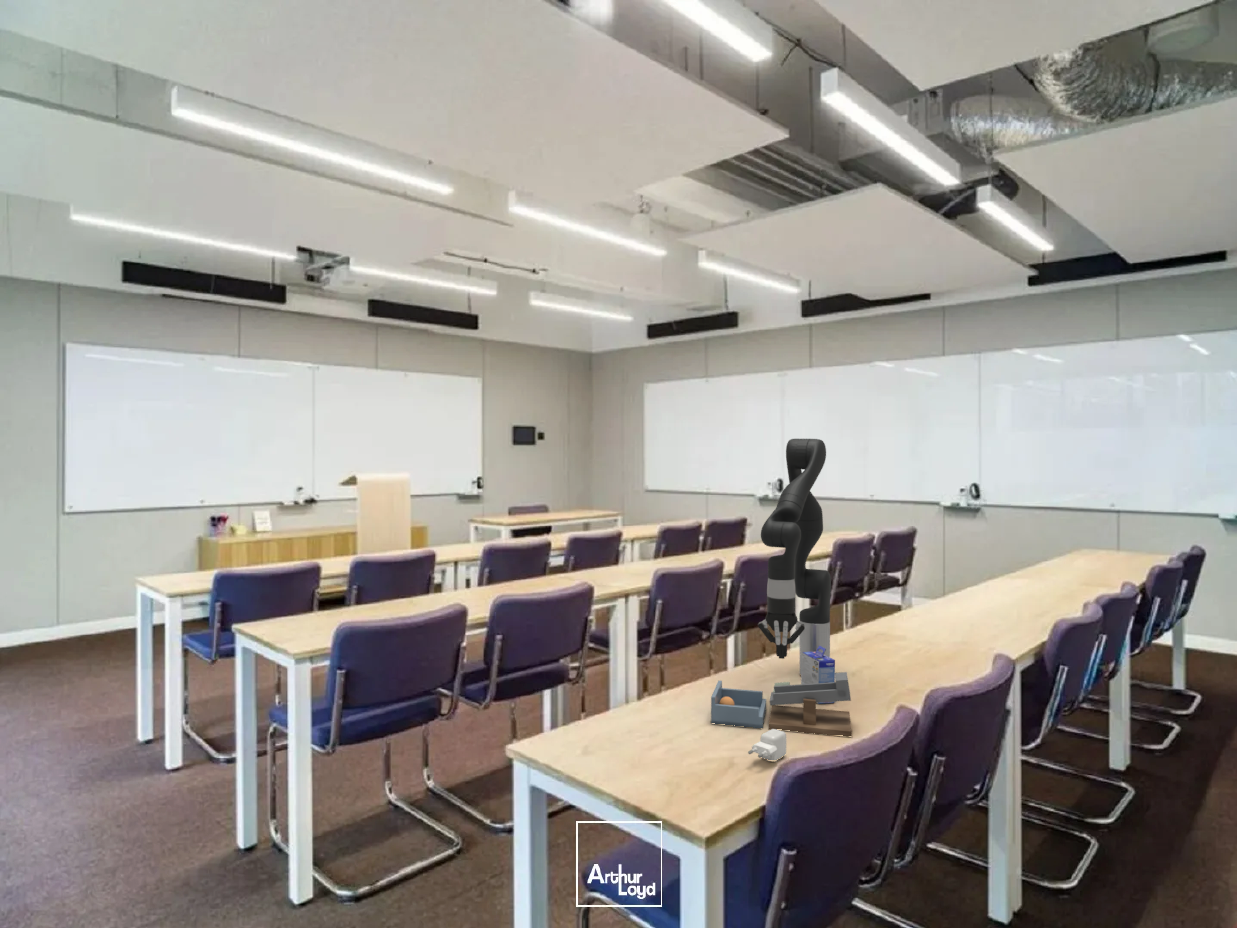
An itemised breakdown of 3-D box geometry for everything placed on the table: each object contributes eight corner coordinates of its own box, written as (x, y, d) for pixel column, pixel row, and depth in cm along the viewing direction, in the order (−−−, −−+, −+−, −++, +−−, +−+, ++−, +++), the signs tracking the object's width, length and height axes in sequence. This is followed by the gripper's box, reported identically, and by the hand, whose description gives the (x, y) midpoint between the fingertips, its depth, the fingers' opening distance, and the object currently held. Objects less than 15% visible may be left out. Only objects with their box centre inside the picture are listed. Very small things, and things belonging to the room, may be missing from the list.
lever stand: (772, 710, 195) (771, 682, 195) (849, 717, 190) (849, 688, 190) (768, 729, 182) (768, 699, 182) (851, 737, 176) (851, 706, 176)
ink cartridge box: (836, 703, 200) (836, 651, 200) (818, 705, 199) (818, 653, 199) (817, 691, 210) (817, 642, 210) (800, 693, 209) (800, 643, 208)
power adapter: (763, 773, 157) (763, 746, 157) (744, 766, 161) (744, 740, 161) (789, 756, 166) (789, 731, 165) (770, 750, 169) (770, 726, 169)
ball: (728, 712, 193) (717, 701, 194) (738, 702, 193) (727, 691, 193) (726, 717, 190) (715, 706, 190) (736, 707, 189) (725, 696, 189)
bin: (718, 705, 199) (718, 680, 199) (766, 709, 196) (766, 684, 195) (711, 724, 186) (711, 697, 185) (762, 728, 182) (762, 701, 182)
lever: (774, 690, 199) (770, 668, 199) (849, 686, 194) (845, 663, 194) (770, 709, 185) (767, 685, 185) (851, 705, 179) (847, 680, 179)
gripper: (806, 592, 198) (806, 655, 198) (757, 590, 201) (758, 652, 202) (806, 598, 190) (806, 663, 191) (755, 596, 194) (755, 660, 195)
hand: (781, 657), depth 196 cm, fingers closed
